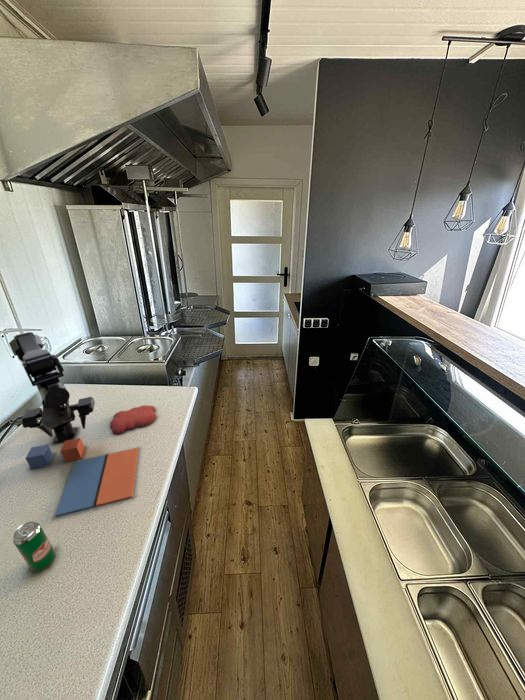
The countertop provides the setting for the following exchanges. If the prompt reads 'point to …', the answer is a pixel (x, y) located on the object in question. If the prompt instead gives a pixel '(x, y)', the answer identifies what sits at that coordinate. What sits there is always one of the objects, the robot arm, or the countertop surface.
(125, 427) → the red lumpy blob
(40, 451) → the slate-blue block
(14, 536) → the soda can
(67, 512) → the sorting mat
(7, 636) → the countertop surface
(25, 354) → the robot arm
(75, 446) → the terracotta block
